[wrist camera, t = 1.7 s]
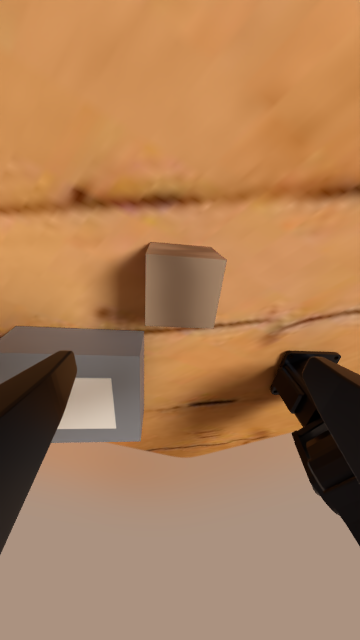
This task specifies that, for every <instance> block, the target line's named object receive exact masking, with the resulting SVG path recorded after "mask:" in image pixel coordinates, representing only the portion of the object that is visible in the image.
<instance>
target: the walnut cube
mask: <svg viewBox="0 0 360 640" xmlns="http://www.w3.org/2000/svg"><path fill="white" fill-rule="evenodd" d="M226 262H227V260H226V259H225V258H224V257H222V256H221V255H220V254H219V253H218V252H216V251H215V250H214V249H213V248H211V247H204V246H192V245H180V244H168V243H156V242H150V245H149V247H148V249H147V252H146V281H145V326H161V327H185V328H209V329H213V328H214V323H215V318H216V313H217V308H218V303H219V298H220V292H221V287H222V282H223V277H224V272H225V267H226Z"/></svg>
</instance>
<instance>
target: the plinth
mask: <svg viewBox="0 0 360 640" xmlns="http://www.w3.org/2000/svg"><path fill="white" fill-rule="evenodd" d="M60 350H71V351H73V353H74V356H75V361H76V365H77V375H76V378H75V381H74V384H73V387H72V390H71V393H70V396H69V399H68V403H67V406H66V409H65V411H64V414H63V417H62V419H61V422H60V424H59V426H58V428H57V430H56V433H55V435H54V437H53V439H52V442H51V443H62V442H130V441H141V433H142V423H143V413H144V331H128V330H103V329H77V328H51V327H25V326H16V327H14V328H13V329H12V330H10V331H9V332H8V333H7V334H5V335H4V336H3V337H2V338H0V384H1V383H3V382H5V381H7V380H8V379H10V378H12V377H14V376H15V375H17V374H19V373H21V372H22V371H24V370H26V369H28V368H29V367H31V366H33V365H35V364H36V363H38V362H40V361H42V360H44V359H45V358H47V357H49V356H51V355H52V354H54V353H56V352H58V351H60Z"/></svg>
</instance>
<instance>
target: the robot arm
mask: <svg viewBox="0 0 360 640" xmlns="http://www.w3.org/2000/svg"><path fill="white" fill-rule="evenodd" d="M290 355H291V356H290ZM340 358H341V356H340V355H339V354H338V353H336V352H306V351H288V352H287V353H286V354H285V356H284V358H283V360H282V363H281V365H280V367H279V370H278V372H277V375H276V377H275V379H274V382H273V384H272V386H271V389H270V391H271V393H272V394H274V395H280V396H281V398H282V399H283V401H284V403H285V404H286V406H287V408H288V409H289V411H290V412H291V413H292V414H295V415H296V417H297V418H298V420H299V422H300V423H301V425H302V426H303V428H301V429H300V430H298V431H294V432H293V433H292V436H293V439H294V441H295V445H296V448H297V450H298V453H299V455H300V458H301V460H302V463H303V465H304V468H305V471H306V473H307V476H308V478H309V481H310V483H311V485H312V487H313V490H314V491H315V493H316V494H317V495H319V496H321V497H322V499H323V500H324V501H325V502H326V504H327V505H328V506H329V507H330V508H331V509H332V510H333V511H334V512H335V513H336V514H338V515H340V516H341V518H342V519H343V521H344V522H345V523H346V525H347V526H348V528H349V530H350V531H351V533H352V534H353V536H354V538H355V539H356V541H357V542H358V544H359V546H360V375H359V374H357V373H355V372H353V371H351V370H348V369H346V368H344V367H342V366H340V365H338V364H337V363H338V361H339V360H340ZM76 375H77V365H76V361H75V356H74V353H73V351H71V350H60V351H58V352H56V353H54V354H52V355H51V356H49V357H47V358H45V359H44V360H42V361H40V362H38V363H36V364H35V365H33V366H31V367H29V368H28V369H26V370H24V371H22V372H21V373H19V374H17V375H15V376H14V377H12V378H10V379H8V380H7V381H5V382H3V383H1V384H0V554H1V552H2V550H3V547H4V545H5V543H6V541H7V539H8V536H9V534H10V532H11V530H12V528H13V525H14V523H15V521H16V519H17V517H18V514H19V512H20V510H21V508H22V506H23V503H24V501H25V499H26V497H27V495H28V492H29V490H30V488H31V486H32V483H33V481H34V479H35V477H36V474H37V472H38V470H39V468H40V466H41V464H42V461H43V459H44V457H45V454H46V453H47V450H48V448H49V446H50V443H51V442H52V439H53V437H54V435H55V433H56V430H57V428H58V426H59V424H60V422H61V419H62V417H63V414H64V411H65V409H66V406H67V403H68V399H69V396H70V393H71V390H72V387H73V384H74V381H75V378H76Z"/></svg>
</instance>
